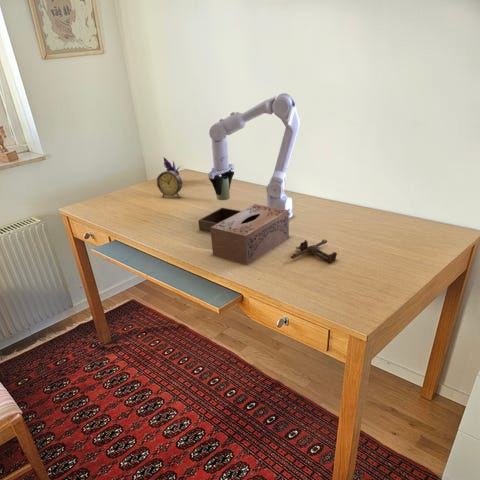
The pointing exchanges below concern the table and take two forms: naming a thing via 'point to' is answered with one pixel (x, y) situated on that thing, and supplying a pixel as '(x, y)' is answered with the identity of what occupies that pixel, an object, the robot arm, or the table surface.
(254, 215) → the tissue box cover
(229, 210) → the basket
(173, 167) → the creature
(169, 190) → the alarm clock
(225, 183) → the pen cup
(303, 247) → the brown figurine
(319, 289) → the table surface
